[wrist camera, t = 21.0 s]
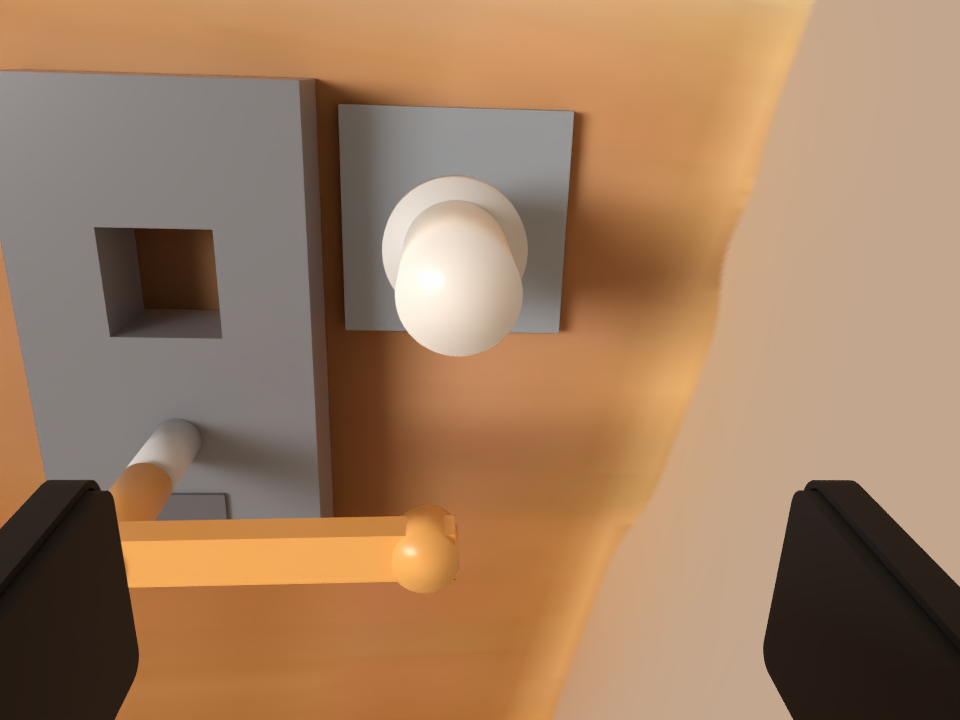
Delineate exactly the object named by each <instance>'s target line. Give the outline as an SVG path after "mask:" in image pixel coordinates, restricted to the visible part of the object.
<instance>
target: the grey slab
mask: <svg viewBox="0 0 960 720" xmlns="http://www.w3.org/2000/svg"><path fill="white" fill-rule="evenodd" d="M134 228H159V229H207V230H212V231H213V242H214V253H215V264H216V274H217V285H218V296H219V307H220V310H192V309H144V301H143V293H142V286H141V278H140V270H139V262H138V254H137V247H136V239H135V231H134ZM0 242H1V247H2V252H3V258H4V263H5V268H6V273H7V279H8V284H9V289H10V294H11V299H12V305H13V310H14V315H15V320H16V326H17V331H18V336H19V341H20V347H21V352H22V357H23V362H24V367H25V373H26V378H27V383H28V388H29V394H30V399H31V404H32V409H33V414H34V420H35V425H36V430H37V435H38V441H39V446H40V451H41V456H42V462H43V467H44V472H45V477H46V481H47V480H94V481H96V482H97V483H98V485H99V487H100V489H101V491H109V489H110V488H111V487H112V485H113V484H114V483H115V482H116V480H117V479H118V478H119V476H120V475H121V474H122V473H123V471H124V470H125V469H126V468H127V467H129V466H131V465H133V464H136V463H150V464H154V465H156V466H158V467H160V468H161V469H163V470H164V471H165V472H166V473H167V474H168V476H169V477H170V479H171V482H172V494H171V496H170V498H169V499H168V501H167V502H166V504H165V506H164V507H163V509H162V510H161V512H160V514H159V515H158V517H157V518H156V520H155V521H174V520H227V519H281V518H334V510H333V486H332V463H331V439H330V416H329V392H328V369H327V345H326V322H325V298H324V275H323V251H322V227H321V204H320V180H319V157H318V133H317V110H316V86H315V78H289V77H257V76H225V75H192V74H160V73H128V72H95V71H63V70H31V69H8V70H0Z"/></svg>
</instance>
